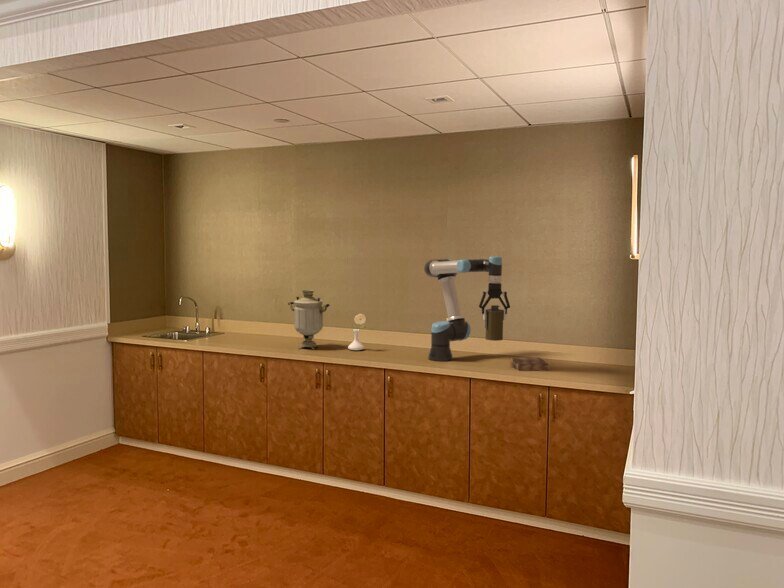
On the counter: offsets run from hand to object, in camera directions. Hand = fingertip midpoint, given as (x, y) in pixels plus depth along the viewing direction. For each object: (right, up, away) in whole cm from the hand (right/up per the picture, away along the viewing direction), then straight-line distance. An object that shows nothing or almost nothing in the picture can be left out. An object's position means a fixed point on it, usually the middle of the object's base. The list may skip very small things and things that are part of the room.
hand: (494, 319), depth 355 cm
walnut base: (+21, -28, +1) cm, 35 cm away
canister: (0, -12, +1) cm, 12 cm away
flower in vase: (-84, -23, +54) cm, 102 cm away
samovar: (-116, -22, +64) cm, 135 cm away
